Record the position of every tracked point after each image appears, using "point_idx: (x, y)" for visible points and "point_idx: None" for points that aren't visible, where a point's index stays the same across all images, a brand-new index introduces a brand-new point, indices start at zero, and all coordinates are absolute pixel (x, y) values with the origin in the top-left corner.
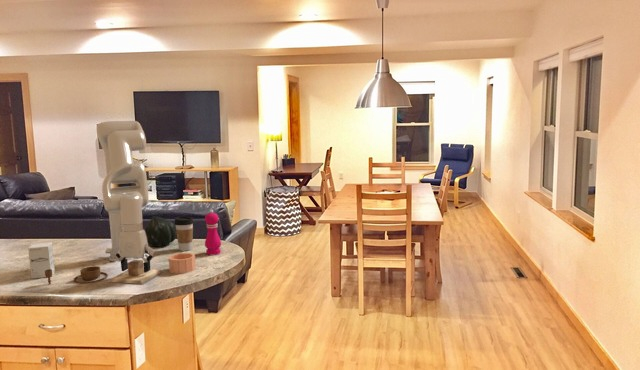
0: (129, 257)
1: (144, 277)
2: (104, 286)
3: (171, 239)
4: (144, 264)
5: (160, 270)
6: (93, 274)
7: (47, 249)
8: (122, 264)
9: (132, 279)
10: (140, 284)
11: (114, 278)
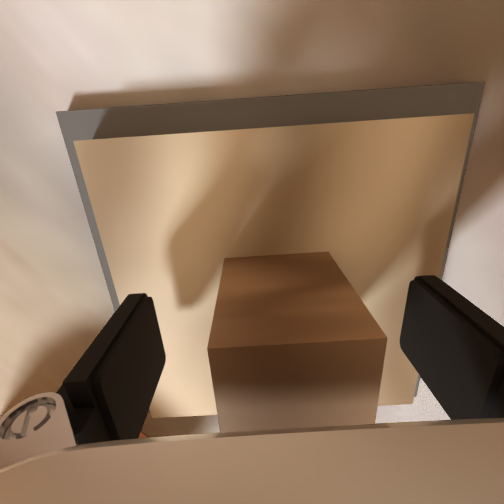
0: (362, 424)
1: (130, 242)
2: (467, 2)
3: None
4: (84, 357)
5: (152, 413)
6: None
7: None
8: (471, 325)
9: (203, 153)
10: (87, 119)
11: (432, 133)
